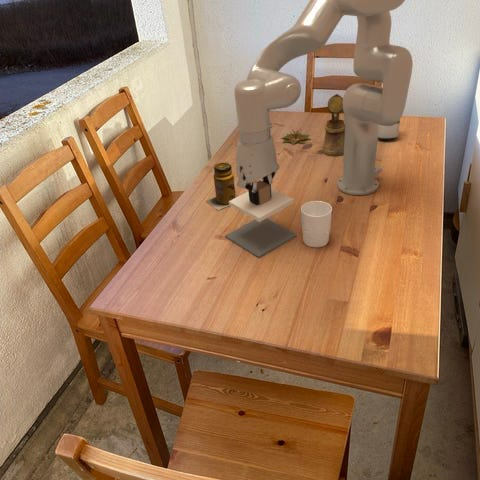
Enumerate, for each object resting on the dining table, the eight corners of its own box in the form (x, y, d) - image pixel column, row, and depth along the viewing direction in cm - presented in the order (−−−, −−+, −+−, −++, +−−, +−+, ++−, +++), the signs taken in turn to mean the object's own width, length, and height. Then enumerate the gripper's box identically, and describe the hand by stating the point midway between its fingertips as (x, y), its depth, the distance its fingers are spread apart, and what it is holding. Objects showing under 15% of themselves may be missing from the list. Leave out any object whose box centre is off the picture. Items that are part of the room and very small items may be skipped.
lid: (262, 187, 131) (261, 169, 128) (293, 202, 123) (292, 183, 120) (229, 205, 125) (226, 186, 122) (259, 222, 117) (257, 202, 114)
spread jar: (400, 142, 173) (403, 111, 166) (368, 144, 174) (371, 113, 167) (391, 130, 183) (395, 100, 176) (362, 132, 183) (364, 102, 177)
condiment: (241, 201, 146) (238, 166, 140) (218, 210, 143) (213, 175, 136) (228, 192, 152) (225, 158, 145) (206, 201, 148) (201, 166, 141)
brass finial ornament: (347, 141, 177) (349, 93, 167) (347, 156, 167) (350, 106, 156) (323, 141, 179) (324, 93, 169) (321, 156, 168) (322, 106, 158)
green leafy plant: (277, 145, 180) (276, 134, 177) (284, 133, 189) (284, 122, 187) (308, 147, 177) (308, 136, 174) (314, 135, 186) (314, 123, 183)
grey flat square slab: (262, 217, 138) (262, 215, 137) (297, 236, 128) (297, 234, 128) (225, 237, 131) (224, 235, 130) (258, 258, 121) (258, 256, 121)
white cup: (333, 234, 128) (334, 202, 122) (327, 250, 122) (329, 218, 116) (304, 230, 130) (304, 199, 125) (298, 246, 124) (297, 214, 119)
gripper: (269, 119, 119) (274, 183, 130) (218, 141, 111) (227, 207, 122) (290, 126, 114) (293, 192, 125) (238, 150, 106) (246, 218, 117)
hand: (260, 199), depth 123 cm, fingers closed on lid, 3 cm apart
